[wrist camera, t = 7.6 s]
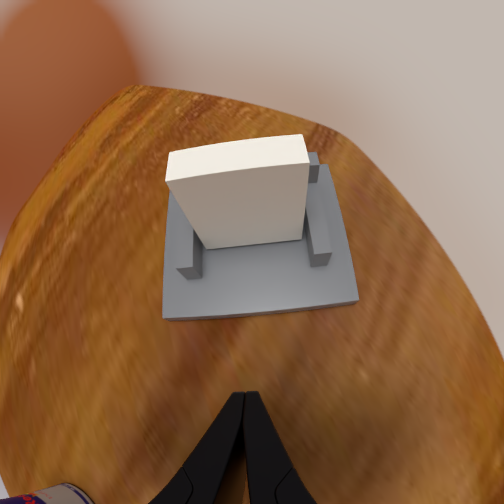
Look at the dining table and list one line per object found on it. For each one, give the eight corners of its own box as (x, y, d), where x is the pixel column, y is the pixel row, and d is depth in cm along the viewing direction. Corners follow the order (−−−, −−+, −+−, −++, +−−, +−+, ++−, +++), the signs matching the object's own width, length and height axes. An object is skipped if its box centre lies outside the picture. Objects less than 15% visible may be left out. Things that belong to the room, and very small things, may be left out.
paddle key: (301, 239, 20) (309, 162, 13) (206, 249, 21) (165, 181, 13) (297, 215, 21) (302, 134, 13) (206, 225, 22) (169, 152, 14)
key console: (355, 303, 19) (378, 281, 14) (168, 320, 20) (133, 304, 15) (326, 172, 24) (333, 127, 19) (174, 190, 25) (152, 150, 20)
